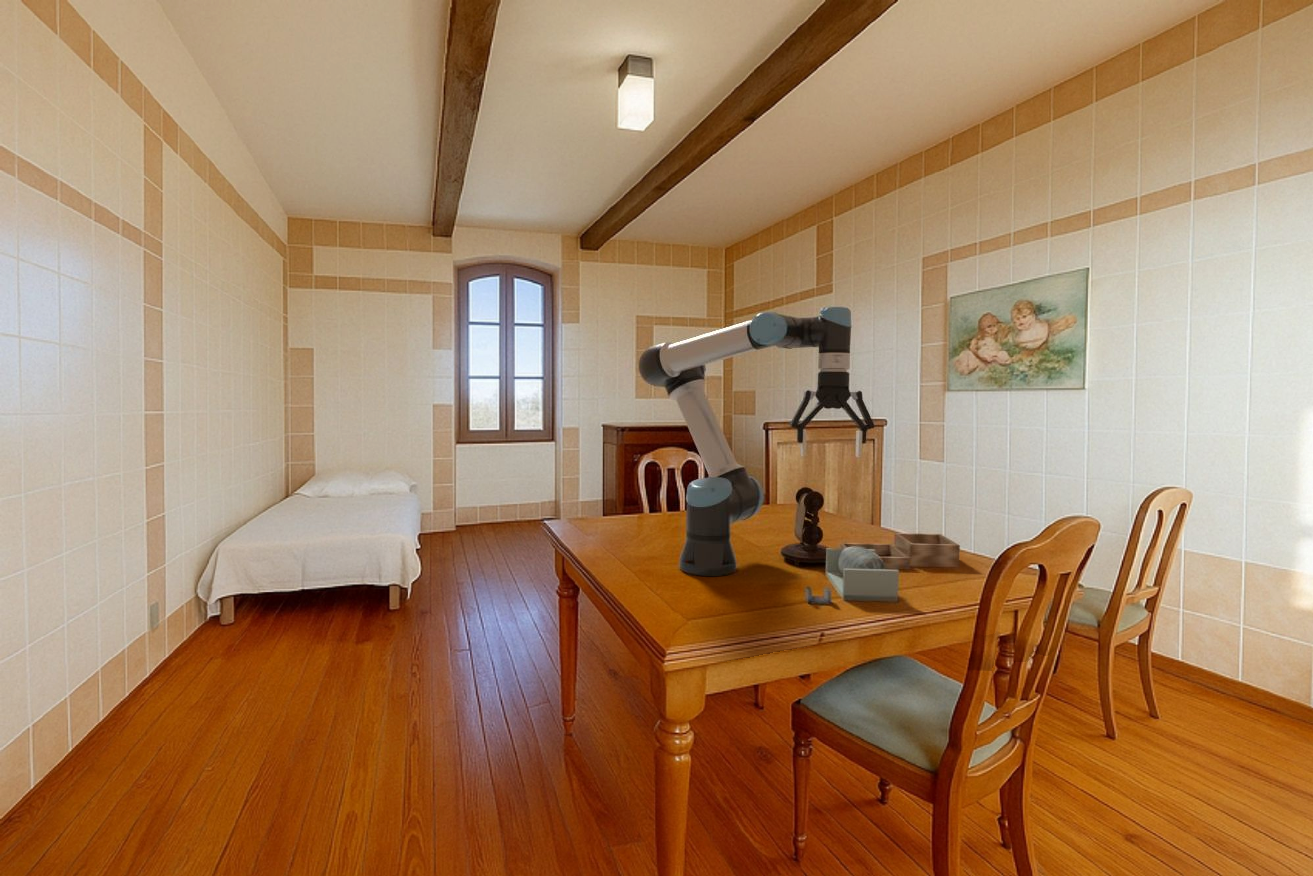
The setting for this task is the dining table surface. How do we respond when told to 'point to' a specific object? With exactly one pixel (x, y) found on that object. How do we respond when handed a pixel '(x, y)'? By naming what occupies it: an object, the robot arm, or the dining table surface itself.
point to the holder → (861, 580)
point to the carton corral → (928, 549)
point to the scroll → (807, 529)
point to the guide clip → (818, 597)
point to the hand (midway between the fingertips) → (830, 456)
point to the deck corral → (893, 562)
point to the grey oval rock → (859, 559)
